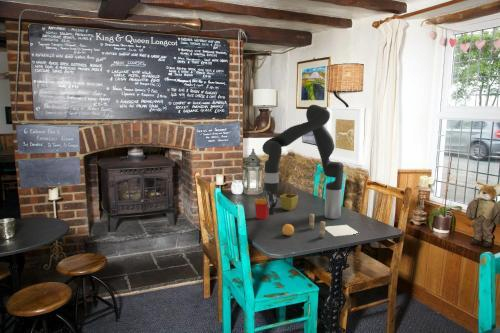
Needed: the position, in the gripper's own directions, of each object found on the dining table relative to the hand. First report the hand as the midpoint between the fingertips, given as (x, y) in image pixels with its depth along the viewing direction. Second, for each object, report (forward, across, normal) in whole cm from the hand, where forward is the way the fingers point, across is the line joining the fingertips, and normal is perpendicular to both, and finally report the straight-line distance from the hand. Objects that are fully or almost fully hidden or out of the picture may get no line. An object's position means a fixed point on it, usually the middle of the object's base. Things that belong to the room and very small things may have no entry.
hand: (270, 214), depth 199 cm
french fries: (+12, +32, -5) cm, 35 cm away
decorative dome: (+12, +83, -37) cm, 92 cm away
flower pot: (+12, +45, -27) cm, 54 cm away
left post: (+12, +7, -26) cm, 29 cm away
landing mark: (+12, 0, -40) cm, 41 cm away
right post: (+12, -7, -26) cm, 29 cm away
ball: (+9, 0, -10) cm, 13 cm away
